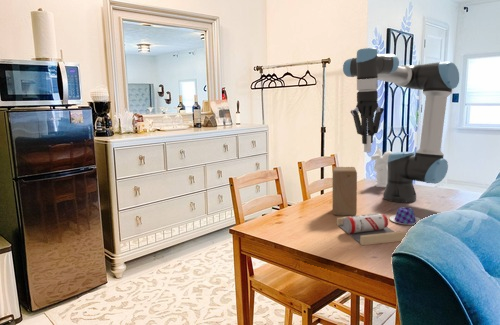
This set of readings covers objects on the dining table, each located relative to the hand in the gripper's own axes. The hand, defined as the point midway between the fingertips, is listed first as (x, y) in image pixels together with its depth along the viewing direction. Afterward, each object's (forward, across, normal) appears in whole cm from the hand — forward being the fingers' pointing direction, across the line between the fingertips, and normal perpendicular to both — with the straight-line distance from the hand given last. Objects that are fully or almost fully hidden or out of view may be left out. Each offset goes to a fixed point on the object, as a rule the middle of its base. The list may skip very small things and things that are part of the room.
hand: (367, 151), depth 144 cm
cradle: (+29, +4, +9) cm, 31 cm away
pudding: (+30, -16, +2) cm, 34 cm away
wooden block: (+30, +3, -16) cm, 34 cm away
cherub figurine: (+31, -37, -54) cm, 73 cm away
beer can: (+25, +14, +9) cm, 30 cm away
